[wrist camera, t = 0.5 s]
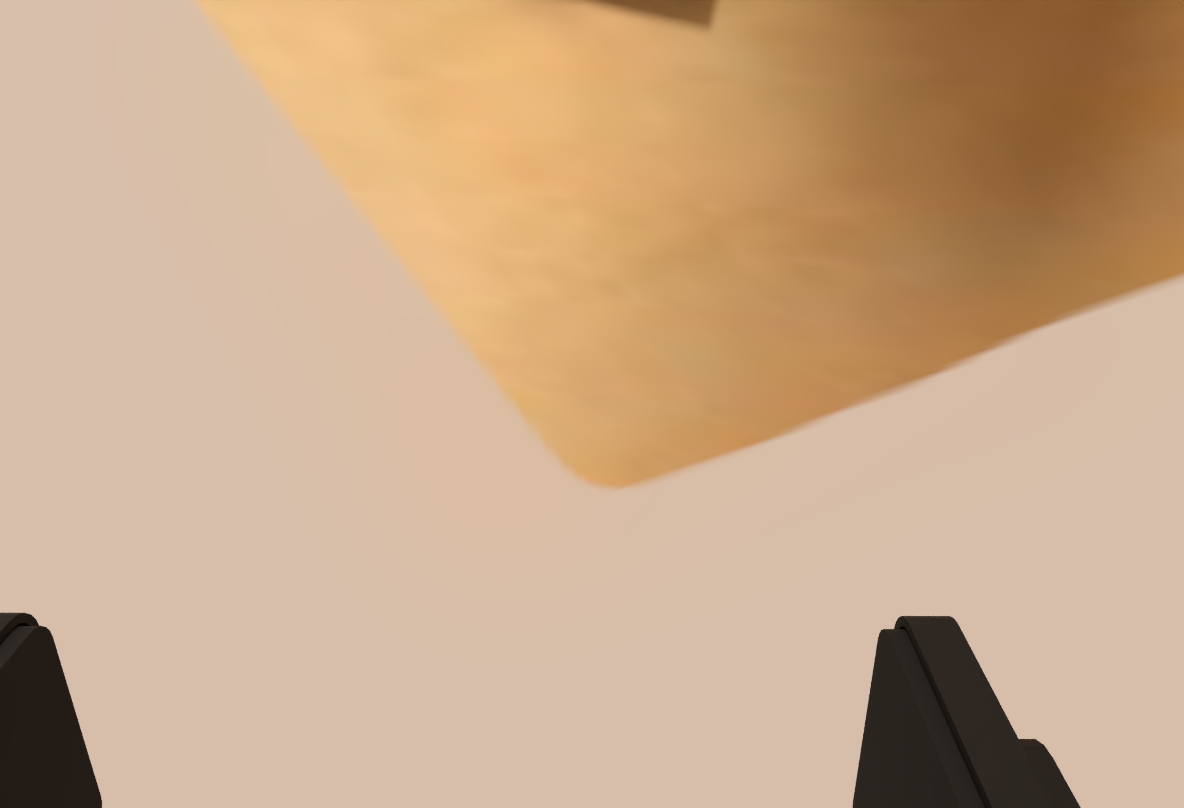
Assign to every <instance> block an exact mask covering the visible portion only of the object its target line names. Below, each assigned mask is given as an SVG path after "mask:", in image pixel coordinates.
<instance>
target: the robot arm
mask: <svg viewBox="0 0 1184 808" xmlns="http://www.w3.org/2000/svg"><path fill="white" fill-rule="evenodd" d="M0 808H102V800H101V795H100V792H99V789H98V785H97V782H96V779H95V775H94V772H93V769H92V765H91V762H90V759H89V755H88V752H87V749H86V745H85V742H84V739H83V736H82V732H81V729H80V726H79V722H78V719H77V716H76V712H75V709H74V706H73V702H72V699H71V696H70V693H69V689H68V686H67V683H66V679H65V676H64V673H63V669H62V666H61V663H60V660H59V656H58V653H57V649H56V646H55V643H54V639H53V636H52V634H51V632H50V631H49V630H48V629H47V628H46V627H43V626H39V625H38V623H37V620H36V619H35V618H34V617H33V616H32V615H30V614H26V613H0ZM853 808H1080V806H1079V804H1078V802H1077V801H1076V799H1075V797H1074V795H1073V793H1072V792H1071V790H1070V788H1069V786H1068V785H1067V783H1066V781H1065V779H1064V777H1063V775H1062V774H1061V772H1060V770H1059V768H1058V767H1057V765H1056V763H1055V761H1054V759H1053V757H1052V756H1051V755H1050V753H1049V752H1048V750H1047V749H1046V748H1045V746H1044V745H1043V744H1041V743H1040V742H1039V741H1037V740H1036V739H1018V738H1017V735H1016V734H1015V732H1014V730H1013V728H1012V726H1011V724H1010V722H1009V720H1008V718H1007V716H1006V715H1005V713H1004V711H1003V709H1002V707H1001V705H1000V703H999V701H998V699H997V697H996V695H995V693H994V692H993V690H992V688H991V686H990V684H989V682H988V680H987V678H986V677H985V675H984V673H983V671H982V669H981V667H980V665H979V663H978V661H977V659H976V658H975V656H974V654H973V652H972V650H971V648H970V646H969V644H968V642H967V640H966V639H965V636H964V635H963V633H962V631H961V629H960V627H959V625H958V623H957V622H956V621H955V619H954V618H952V617H950V616H901V617H899V618H898V620H897V621H896V624H895V628H894V629H883V630H881V632H880V634H879V637H878V643H877V649H876V656H875V662H874V669H873V676H872V682H871V688H870V695H869V702H868V708H867V715H866V721H865V727H864V734H863V740H862V747H861V753H860V760H859V767H858V773H857V780H856V786H855V793H854V799H853Z"/></svg>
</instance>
